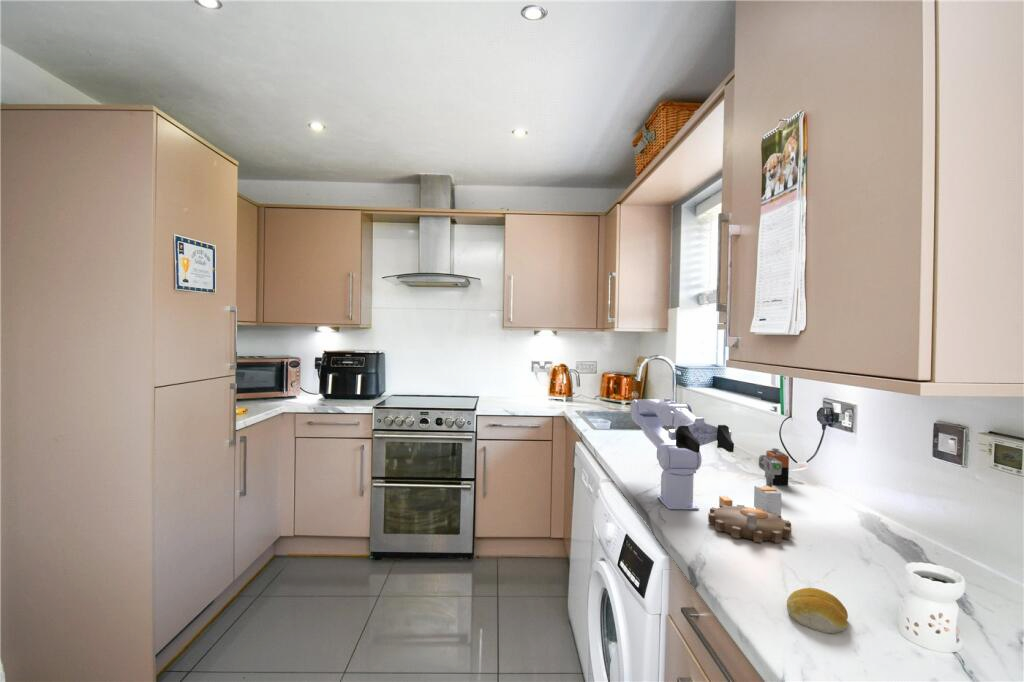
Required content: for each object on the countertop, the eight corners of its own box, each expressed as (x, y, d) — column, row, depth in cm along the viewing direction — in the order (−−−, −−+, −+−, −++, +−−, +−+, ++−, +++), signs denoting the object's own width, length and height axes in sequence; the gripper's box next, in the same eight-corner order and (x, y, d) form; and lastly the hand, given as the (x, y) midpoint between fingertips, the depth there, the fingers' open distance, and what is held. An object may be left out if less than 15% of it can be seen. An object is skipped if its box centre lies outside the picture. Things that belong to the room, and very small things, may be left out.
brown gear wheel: (697, 512, 120) (697, 492, 120) (764, 512, 120) (765, 493, 120) (729, 542, 103) (730, 519, 102) (808, 542, 103) (808, 520, 103)
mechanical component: (766, 487, 142) (767, 454, 141) (782, 499, 131) (783, 463, 131) (756, 487, 142) (757, 453, 142) (771, 498, 132) (772, 463, 131)
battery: (780, 479, 150) (780, 448, 150) (788, 486, 143) (789, 453, 143) (765, 478, 150) (765, 447, 150) (773, 485, 144) (774, 452, 144)
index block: (719, 507, 124) (719, 496, 124) (726, 507, 124) (726, 496, 124) (724, 512, 121) (724, 500, 121) (732, 512, 121) (732, 500, 121)
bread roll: (847, 613, 78) (848, 589, 78) (846, 642, 70) (847, 615, 70) (789, 596, 83) (790, 574, 82) (783, 621, 75) (783, 596, 75)
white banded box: (753, 508, 124) (754, 484, 124) (767, 508, 124) (768, 484, 124) (766, 517, 118) (766, 492, 118) (781, 517, 118) (781, 492, 118)
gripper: (662, 411, 118) (684, 431, 105) (720, 411, 118) (748, 430, 105) (661, 438, 119) (682, 461, 106) (718, 437, 120) (746, 460, 106)
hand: (715, 448), depth 106 cm, fingers open, 7 cm apart
